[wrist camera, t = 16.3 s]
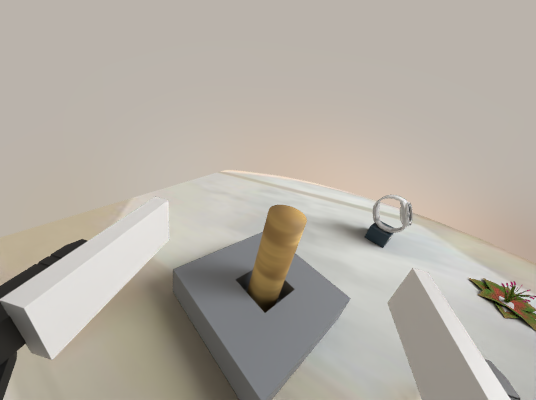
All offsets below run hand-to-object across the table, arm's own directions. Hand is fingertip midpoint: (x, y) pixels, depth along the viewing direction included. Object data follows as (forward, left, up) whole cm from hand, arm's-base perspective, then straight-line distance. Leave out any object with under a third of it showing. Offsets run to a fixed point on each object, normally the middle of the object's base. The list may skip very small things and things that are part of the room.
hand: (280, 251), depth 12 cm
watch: (-43, -1, -18) cm, 47 cm away
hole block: (-8, -5, -18) cm, 20 cm away
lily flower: (-48, +22, -19) cm, 56 cm away
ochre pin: (-8, -5, -17) cm, 20 cm away
